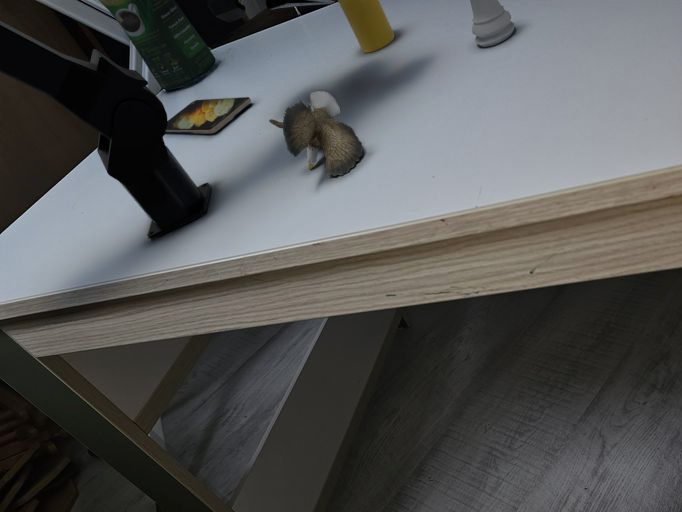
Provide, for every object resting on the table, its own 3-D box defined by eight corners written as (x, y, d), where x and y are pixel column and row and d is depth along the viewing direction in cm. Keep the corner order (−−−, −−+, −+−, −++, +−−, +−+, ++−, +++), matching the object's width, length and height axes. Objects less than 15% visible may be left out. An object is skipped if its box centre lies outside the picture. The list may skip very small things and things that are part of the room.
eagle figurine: (269, 163, 69) (281, 176, 61) (268, 86, 66) (280, 90, 59) (346, 166, 72) (366, 179, 64) (347, 92, 69) (368, 96, 61)
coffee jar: (226, 59, 109) (148, -66, 97) (197, 86, 104) (111, -42, 92) (186, 70, 114) (107, -47, 102) (157, 96, 109) (70, -24, 97)
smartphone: (194, 99, 97) (251, 96, 87) (197, 104, 98) (254, 101, 88) (156, 129, 94) (210, 129, 84) (159, 133, 95) (214, 134, 85)
